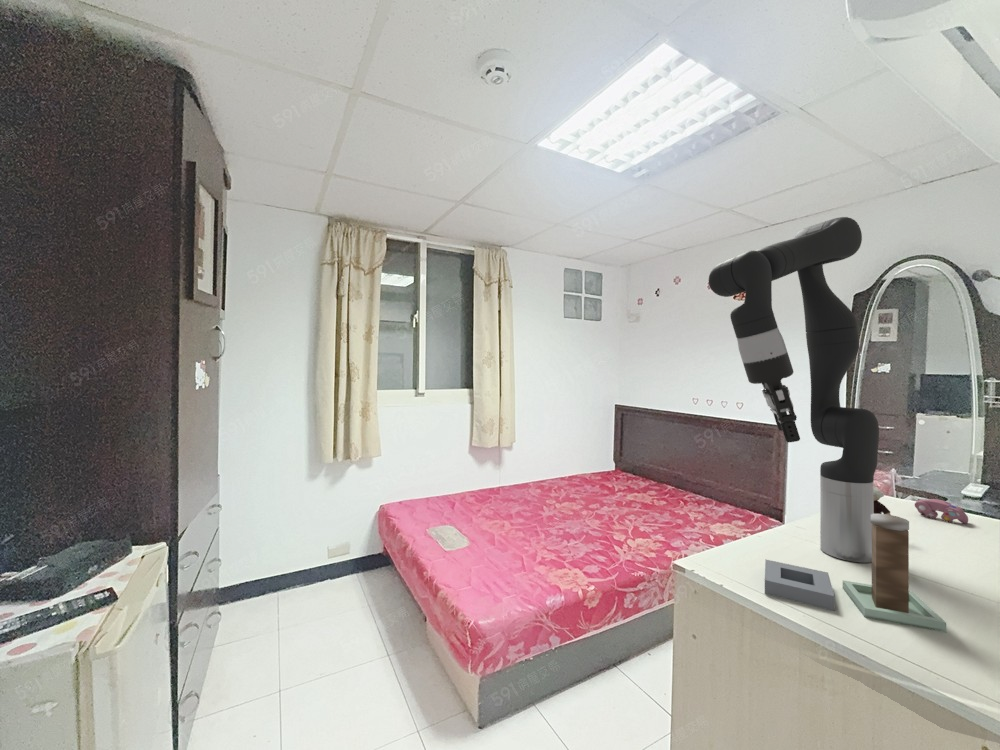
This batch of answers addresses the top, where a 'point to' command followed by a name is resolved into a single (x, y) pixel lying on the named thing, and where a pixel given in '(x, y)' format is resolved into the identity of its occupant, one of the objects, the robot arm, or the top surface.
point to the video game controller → (941, 510)
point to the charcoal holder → (799, 584)
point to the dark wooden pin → (890, 562)
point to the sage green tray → (916, 617)
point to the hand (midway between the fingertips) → (789, 435)
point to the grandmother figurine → (878, 506)
